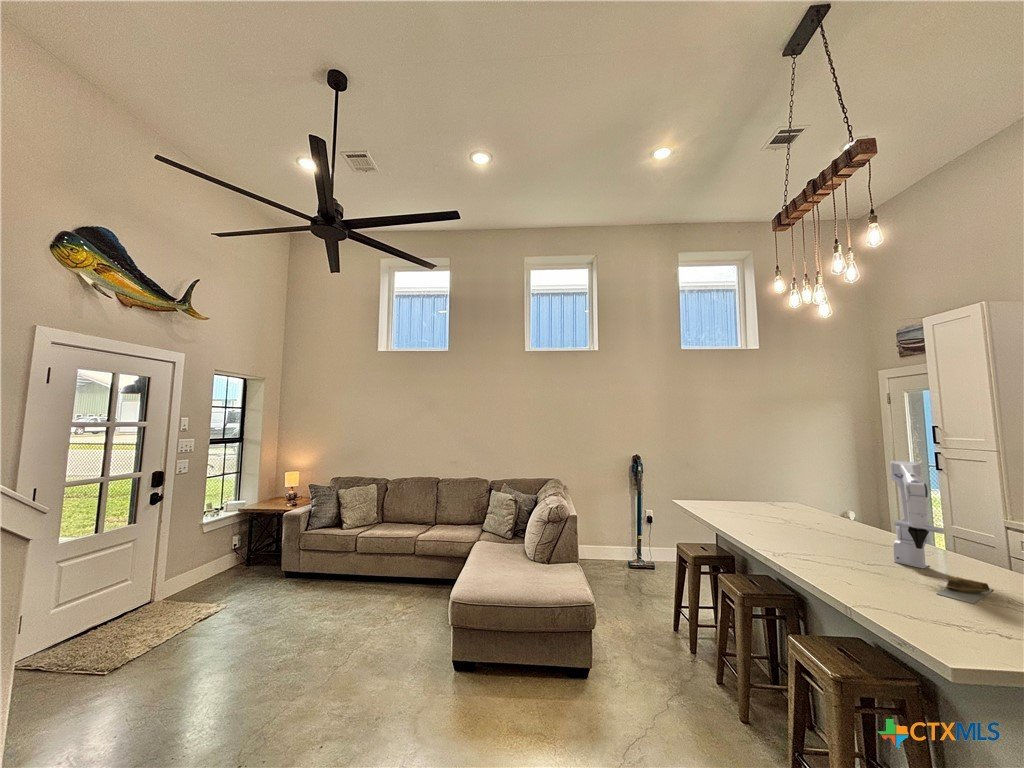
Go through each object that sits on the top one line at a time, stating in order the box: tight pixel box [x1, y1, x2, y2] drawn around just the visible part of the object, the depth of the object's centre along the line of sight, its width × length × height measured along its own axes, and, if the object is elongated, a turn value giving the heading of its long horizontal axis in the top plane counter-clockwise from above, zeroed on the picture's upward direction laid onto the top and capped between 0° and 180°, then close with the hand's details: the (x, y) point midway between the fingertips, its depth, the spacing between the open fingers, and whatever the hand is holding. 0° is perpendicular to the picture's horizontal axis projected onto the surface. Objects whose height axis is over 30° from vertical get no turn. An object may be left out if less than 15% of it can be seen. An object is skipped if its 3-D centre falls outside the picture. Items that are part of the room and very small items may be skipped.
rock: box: [945, 575, 990, 593], centre depth 153 cm, size 11×9×10 cm
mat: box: [936, 587, 994, 605], centre depth 151 cm, size 9×24×1 cm, turn 121°
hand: (919, 548), depth 167 cm, fingers closed
